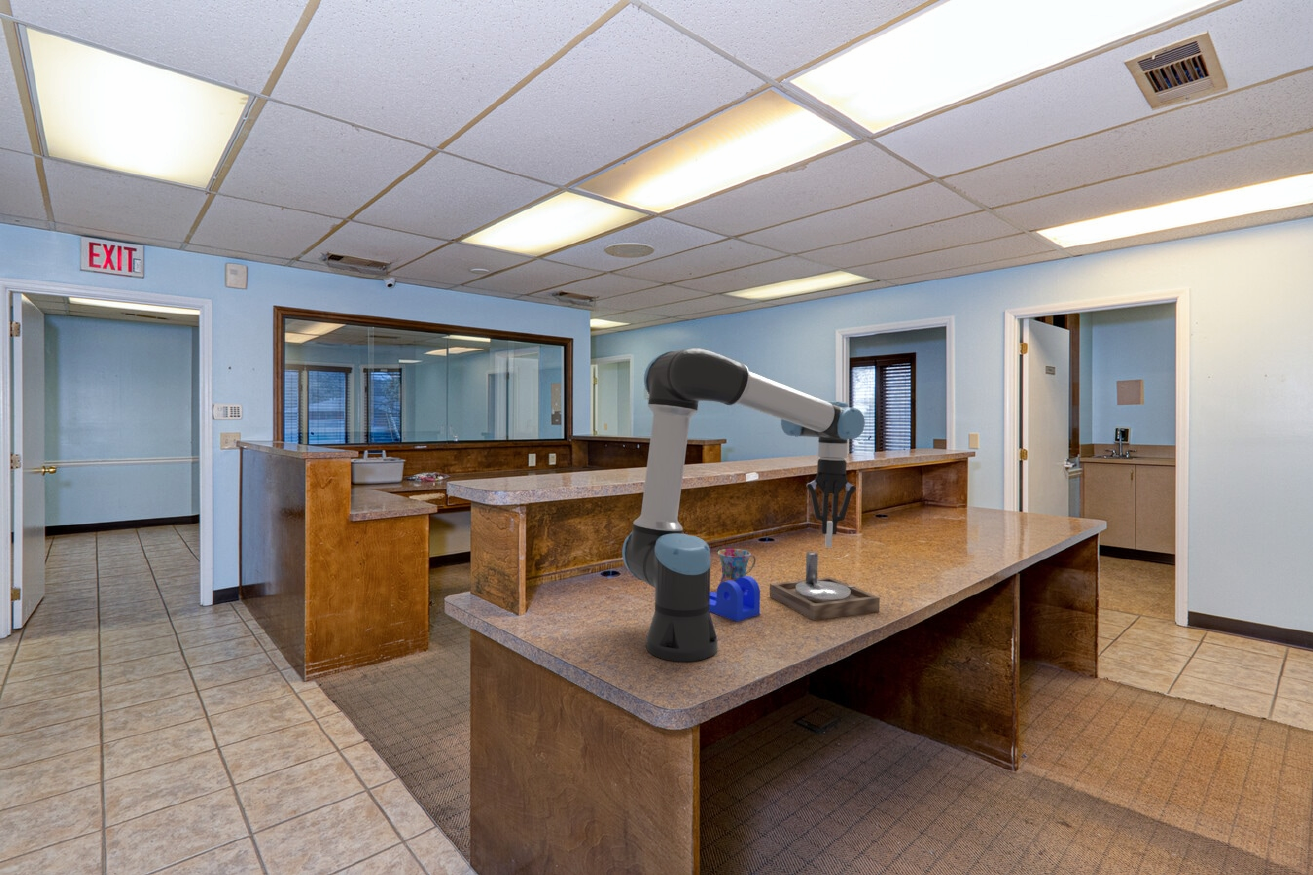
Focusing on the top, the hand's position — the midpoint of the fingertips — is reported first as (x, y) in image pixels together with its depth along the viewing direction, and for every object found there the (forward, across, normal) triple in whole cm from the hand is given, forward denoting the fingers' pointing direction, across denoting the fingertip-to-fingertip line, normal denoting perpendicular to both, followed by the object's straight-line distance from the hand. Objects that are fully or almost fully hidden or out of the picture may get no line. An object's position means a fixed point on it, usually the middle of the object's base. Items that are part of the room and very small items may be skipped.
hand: (828, 545), depth 164 cm
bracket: (+16, +28, +13) cm, 34 cm away
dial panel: (+15, +1, +4) cm, 15 cm away
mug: (+15, +24, -4) cm, 29 cm away
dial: (+12, +1, +4) cm, 13 cm away
